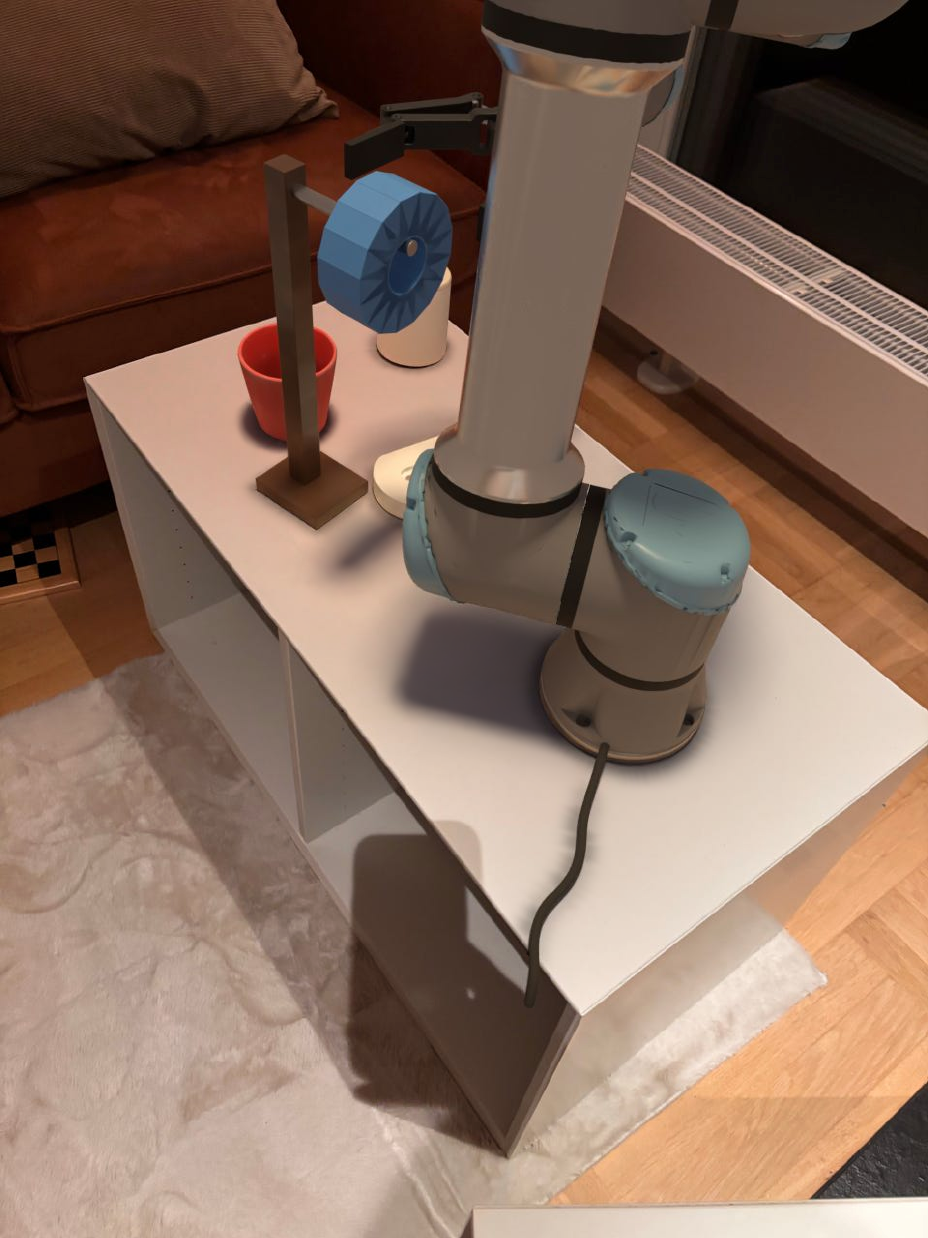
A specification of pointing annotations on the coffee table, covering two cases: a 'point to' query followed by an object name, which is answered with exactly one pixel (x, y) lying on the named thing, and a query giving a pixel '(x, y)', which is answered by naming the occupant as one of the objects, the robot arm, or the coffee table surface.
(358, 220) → the tape roll
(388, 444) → the coffee table surface
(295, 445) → the peg stand
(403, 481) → the bracket
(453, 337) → the coffee table surface
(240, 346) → the flower pot
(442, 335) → the beige cylinder
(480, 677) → the coffee table surface
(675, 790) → the coffee table surface
